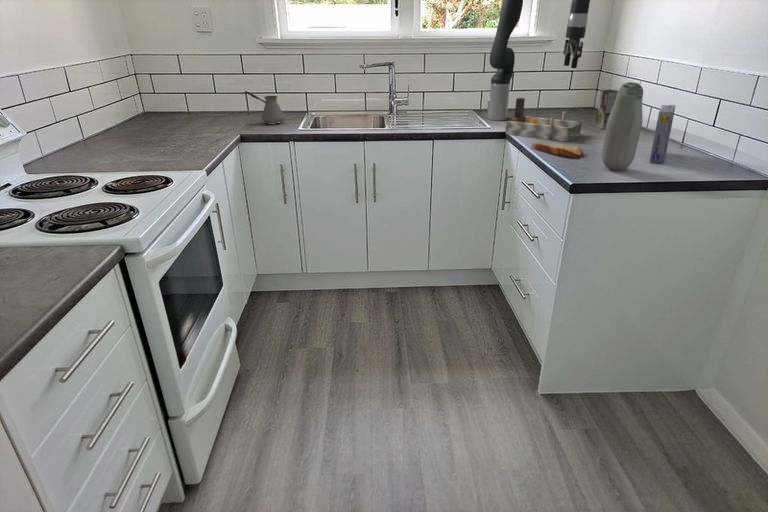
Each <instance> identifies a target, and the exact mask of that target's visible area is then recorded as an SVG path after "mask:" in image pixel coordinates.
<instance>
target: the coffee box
mask: <svg viewBox="0 0 768 512" xmlns="http://www.w3.org/2000/svg"><path fill="white" fill-rule="evenodd" d="M617 93H618V90H617V89H601V90H600V95H599V100H598V101H599V102H598V106H597V107H598V108H597V113H596V119H595V124H594V126H595V127H598V128H600V129H602V130H606V127H607V122H608V118H609V116H610V113H611V111H612V108H613V106H614V104H615V100H616V97H617Z"/></svg>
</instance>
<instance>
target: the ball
mask: <svg viewBox="0 0 768 512" xmlns="http://www.w3.org/2000/svg"><path fill="white" fill-rule="evenodd" d="M531 117H532V118H531V119H530V120H529V123H532V124H538V119H537V118H538V117H537V116H536V117H535V116H531Z"/></svg>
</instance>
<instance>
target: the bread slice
mask: <svg viewBox="0 0 768 512" xmlns="http://www.w3.org/2000/svg"><path fill="white" fill-rule="evenodd" d="M530 148H531V149H532V150H535V151H539V152H542V153H545V154H549V155H552V154H553V156H556V155H558V156H557V157H561V156H564V157H565V158H567V157H570V158H569V159H581V158H580V157H582V156H583V157H584V156H585V155H584V151H583V150H582V147H580V146H577V145H575V144H573V145H572V144H565V143H558V142H557V143H556V142H555V143H554V142H541V141H540V142H533V143H532V145H531V146H530ZM564 157H563V158H564ZM583 157H582V158H583Z"/></svg>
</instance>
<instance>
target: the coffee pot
mask: <svg viewBox="0 0 768 512" xmlns="http://www.w3.org/2000/svg"><path fill="white" fill-rule="evenodd" d="M245 94H246V95H249V96H250V97H252V98H254V99H256V100H259V101H261V102H262V103H264V108H263V111H262V114H261V121H263V122H264V123H265V122H267V123H277V122H282V123H283V121H285V117H286V116H285V115H284V113H283V110H282V109H281V107H280V105H279V103H278V101H277V98H278V96H277V95H266V96H264V99H265V100H263V98H260V97H258V95H257V96H256V95H255V94H254V93H252V92H251V93H250V92H249V91H246V90H244V92H243V94H242V95H245Z"/></svg>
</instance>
